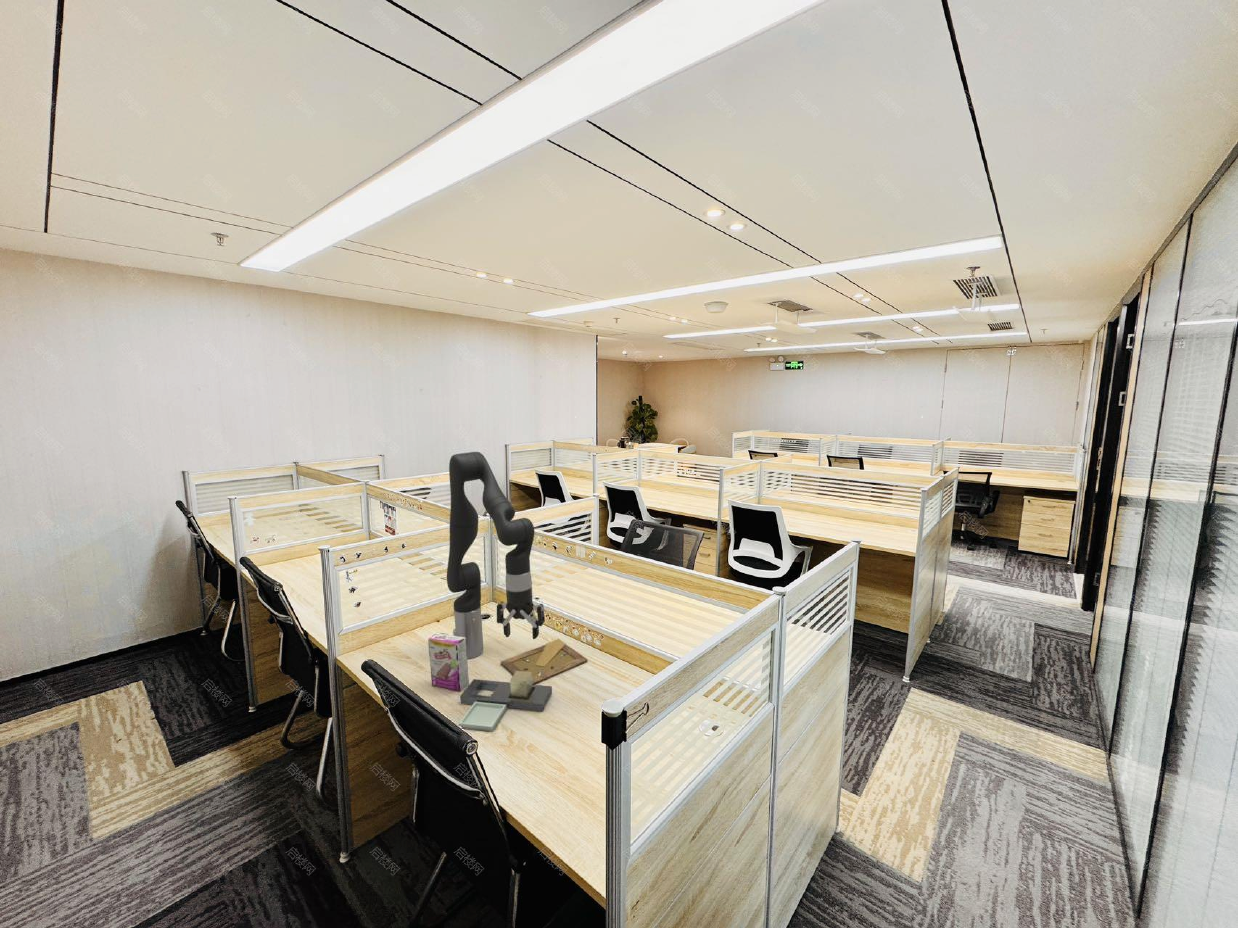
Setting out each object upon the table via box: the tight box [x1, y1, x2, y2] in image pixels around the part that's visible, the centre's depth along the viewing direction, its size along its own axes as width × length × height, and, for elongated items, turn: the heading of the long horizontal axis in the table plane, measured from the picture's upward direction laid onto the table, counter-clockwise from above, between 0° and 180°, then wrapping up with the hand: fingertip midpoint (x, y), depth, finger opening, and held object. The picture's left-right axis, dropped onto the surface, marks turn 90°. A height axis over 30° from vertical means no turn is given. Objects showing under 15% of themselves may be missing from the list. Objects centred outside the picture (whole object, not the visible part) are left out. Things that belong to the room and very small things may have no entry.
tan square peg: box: [509, 671, 533, 700], centre depth 154 cm, size 5×5×8 cm
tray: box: [458, 702, 508, 733], centre depth 146 cm, size 10×10×2 cm
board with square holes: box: [459, 678, 553, 713], centre depth 155 cm, size 26×9×2 cm, turn 80°
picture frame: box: [500, 638, 589, 685], centre depth 175 cm, size 19×2×24 cm
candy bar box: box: [427, 632, 470, 692], centre depth 162 cm, size 11×5×16 cm, turn 71°
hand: (521, 636), depth 152 cm, fingers open, 8 cm apart
